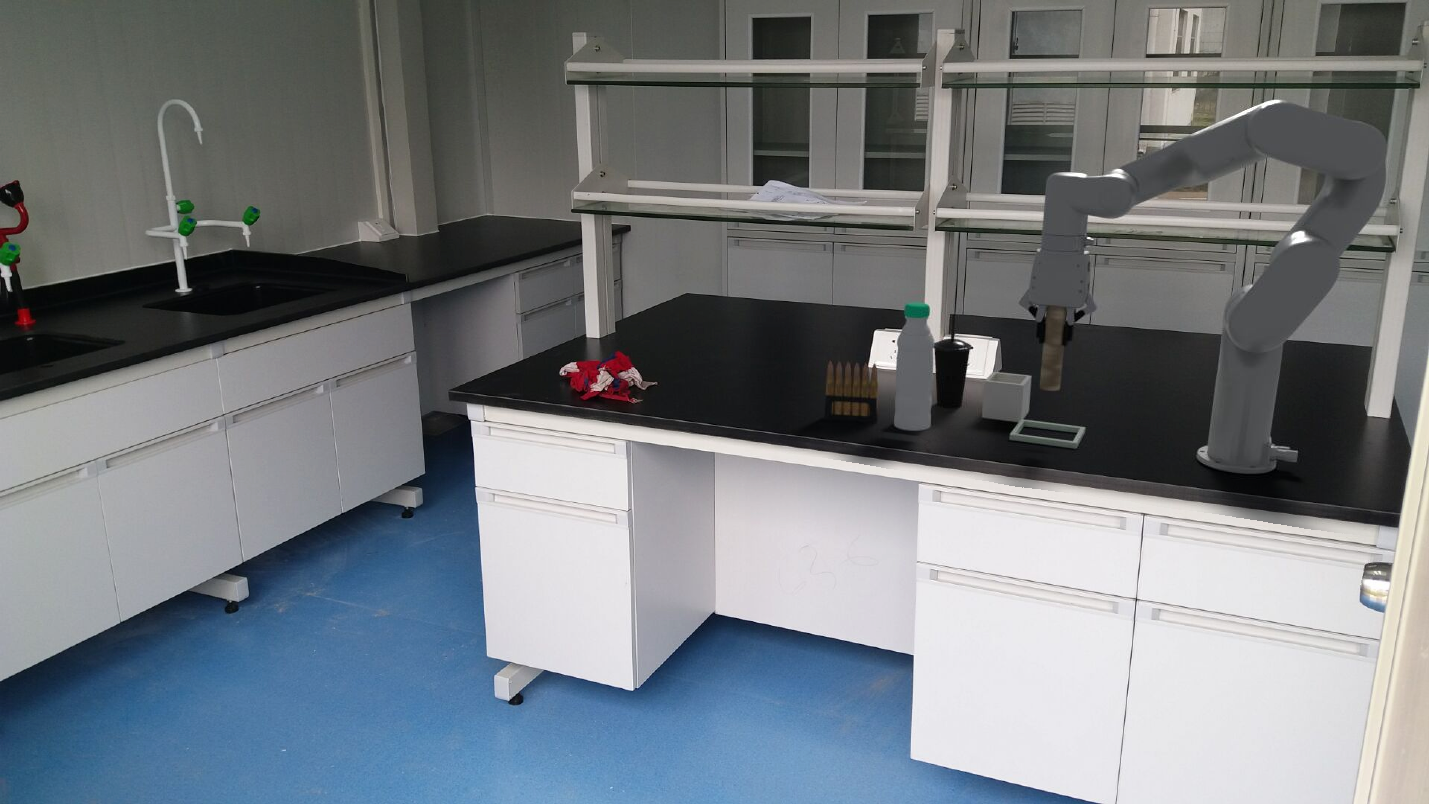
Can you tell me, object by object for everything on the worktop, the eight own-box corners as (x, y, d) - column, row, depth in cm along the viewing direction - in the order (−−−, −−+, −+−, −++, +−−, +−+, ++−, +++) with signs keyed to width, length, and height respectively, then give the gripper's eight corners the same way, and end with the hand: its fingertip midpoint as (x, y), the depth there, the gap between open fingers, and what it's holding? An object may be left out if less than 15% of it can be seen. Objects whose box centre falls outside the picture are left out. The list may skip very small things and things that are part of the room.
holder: (1028, 416, 213) (1031, 375, 210) (1020, 427, 206) (1023, 385, 204) (990, 411, 216) (993, 371, 213) (981, 422, 209) (984, 381, 207)
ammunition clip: (878, 420, 212) (879, 362, 208) (877, 422, 210) (878, 364, 207) (825, 416, 215) (826, 359, 211) (824, 419, 213) (824, 362, 209)
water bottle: (897, 422, 210) (902, 299, 203) (933, 425, 208) (939, 301, 200) (890, 433, 204) (894, 306, 197) (926, 436, 201) (932, 308, 194)
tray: (1084, 437, 200) (1085, 427, 199) (1075, 453, 191) (1076, 443, 191) (1020, 428, 205) (1021, 419, 204) (1009, 444, 197) (1009, 434, 196)
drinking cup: (926, 404, 221) (930, 311, 216) (961, 402, 222) (966, 310, 216) (935, 415, 214) (940, 319, 208) (972, 413, 215) (978, 317, 209)
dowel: (1061, 386, 196) (1070, 291, 191) (1057, 391, 193) (1067, 295, 188) (1041, 384, 198) (1050, 290, 192) (1037, 389, 194) (1046, 293, 189)
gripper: (1114, 243, 187) (1104, 343, 192) (1020, 237, 194) (1012, 334, 199) (1109, 249, 180) (1098, 353, 186) (1011, 243, 188) (1003, 343, 193)
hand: (1053, 342), depth 193 cm, fingers closed on dowel, 3 cm apart
